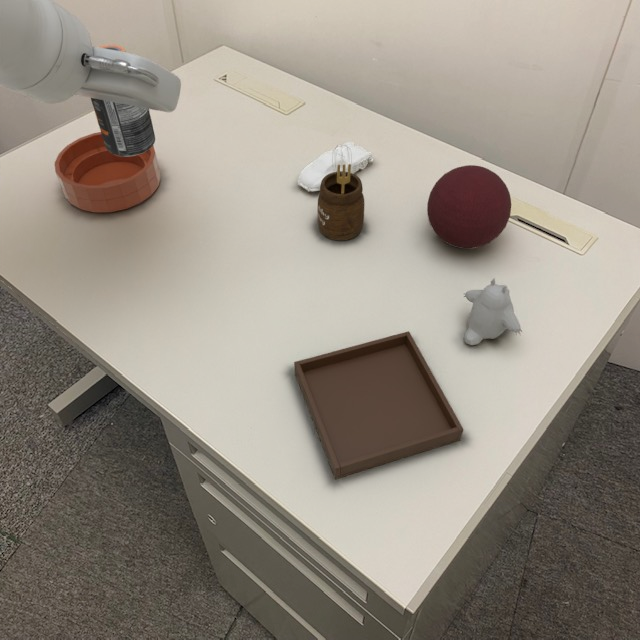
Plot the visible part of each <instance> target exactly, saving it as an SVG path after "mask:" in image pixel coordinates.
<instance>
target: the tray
mask: <svg viewBox="0 0 640 640" xmlns="http://www.w3.org/2000/svg"><path fill="white" fill-rule="evenodd" d="M293 365H294V366H293V367H294V375H295V377H296V380H297V382H298V386H299V388H300V391H301V393H302V396H303V399H304V401H305V404H306V406H307V409H308V412H309V414H310V417H311V420H312V422H313V424H314V428H315V430H316V432H317V435H318V437H319V441H320V443H321V446H322V448H323V451H324V454H325V456H326V458H327V461H328V464H329V466H330V470H331V472H332V474H333V477H334V480H337V479H340V478H343V477H347V476H350V475H353V474H356V473H359V472H362V471H366V470H369V469H373V468H376V467H378V466H382V465H386V464H388V463H392V462H394V461H398V460H401V459H404V458H405V459H406V458H408V457H411V456H415V455H417V454H421V453H424V452H426V451H430V450H433V449H436V448H439V447H442V446H446V445H449V444H450V445H451V444H452V443H456V442H459V441H461V440H462V436H463V434H464V430H465V429H464V428H463V426H462V424H461V422H460V420H459V419H458V417H457V415H456V412H455V411H454V410H453V408H452V406H451V404H450V402H449V401H448V398H447V397H446V395H445V393H444V392H443V389H442V388H441V386H440V384H439V382H438V381H437V379H436V377H435V376H434V373H433V371H432V369H431V368H430V366H429V364H428V363H427V361H426V359H425V357H424V356H423V354H422V351H421V350H420V348H419V347H418V344H417V343H416V341H415V339H414V338H413V335H412V334H411V332H410V331H404V332H400V333H397V334H394V335H390V336H387V337H383V338H379V339H375V340H371V341H368V342H364V343H363V342H362V343H360V344H356V345H352V346H348V347H344V348H341V349H337V350H334V351H331V352H327V353H326V352H325V353H323V354H319V355H315V356H311V357H308V358H304V359H301V360H296V361H294V362H293Z"/></svg>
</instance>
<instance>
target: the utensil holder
mask: <svg viewBox="0 0 640 640" xmlns="http://www.w3.org/2000/svg"><path fill="white" fill-rule="evenodd" d="M342 144H343V143H342ZM342 144H337V146H335V147H334V148H333V149H334V150H335V149H336V148H337V147H338V146H341V147H342V146H344V147H345V145H342ZM347 147H348V146H347ZM345 148H346V147H345ZM348 148H349V147H348ZM348 148H346V149H348ZM338 149H339V148H338ZM349 149H350V148H349ZM337 151H338V150H337ZM347 151H348V150H347ZM350 151H351V150H350ZM333 152H334V151H333ZM336 154H337V153H336ZM348 154H349V152H348ZM342 155H343V148H342ZM351 163H352V156H351ZM332 165H333V155H332ZM347 166H348V172H345V168H346V165H345V164H343V170H342V167H340V164H338V166H337V170H336V172H333V173H330V174H328V175H326V176H325V177H324V178H323V179H322V181H321V185H320V191H319V194H318V197H317V224H318V229H319V231H320V233H321V234H322V235H323V236H324V237H326V238H328V239H330V240H334V241H348V240H351V239H354V238H355V237H357V236H358V235H359V234H360V233H361V232H362V230H363V226H364V220H365V197H364V193H363V190H364V188H363V182H362V180H361V178H360V177H359V176H358V175H356V173H354V174H353V173H351V164H349V165H348V164H347ZM335 167H336V165H335ZM340 168H341V171H340ZM333 170H334V168H333ZM346 171H347V170H346Z"/></svg>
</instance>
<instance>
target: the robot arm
mask: <svg viewBox="0 0 640 640" xmlns="http://www.w3.org/2000/svg"><path fill="white" fill-rule="evenodd" d="M99 47H100V46H93V42H92V38H91V36H90V33H89V30H88V29H87V27H86V26H85V24H84V23H83V22H82V20H81V19H80V18H78V16H76V15H75V14H73V13H72V12H70V11H69V10H68V9H66V8H65V7H63V6H62V5H60V4H59V3H57V2H56V1H55V0H0V86H1V87H2V88H5V89H7V90H9V91H11V92H14V93H16V94H18V95H20V96H24V97H26V98H28V99H31V100H32V101H35V102H37V103H40V104H45V105H53V104H59V103H63V102H64V101H67V100H69V99H71V98H72V97H73V96H79V97H85V98H88V99H89V98H90V99H91V98H94V99H100V100H105V101H110V102H115V103H121V104H126V105H131V106H137V107H142V108H147V109H149V110H152V111H159V112H163V113H173V112H174V111H175V110H176V109H177V107H178V104H179V101H180V94H181V89H182V80H181V78H180V76H179V75H176V74H175V73H174V72H172V71H170V70H169V69H167V68H165V67H164V66H162V65H160V64H159V63H157V62H155V61H153V60H151V59H150V58H147V57H144V56H141V55H140V54H136V53H132V52H127V51H126V52H122V51H117V50H111V49H105V48H99Z"/></svg>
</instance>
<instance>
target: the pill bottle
mask: <svg viewBox="0 0 640 640" xmlns="http://www.w3.org/2000/svg"><path fill="white" fill-rule="evenodd" d="M98 47H99V48H105V49H111V50H117V51H122V52H127V51H126V49H125V48H124V47H122V46H121V45H116V44H105V45H101V46H98ZM90 100H91V104H92V108H93V111H94V113H95V118H96V120H97V124H98V126H99V130H100V132H101V134H102V137H103V140H104V144H105V147H106V149H107V150H108V151H109V152H111V153H112V154H114V155H117V156H124V157H128V156H135V155H139V154H142V153H144V152H146V151H147V150H149V149H150V148H151V147H152V146H154V145H155V142H156V134H155V130H154V125H153V121H152V117H151V113H150V109H147V108H142V107H137V106H131V105H126V104H121V103H115V102H110V101H105V100H100V99H94V98H90Z"/></svg>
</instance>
